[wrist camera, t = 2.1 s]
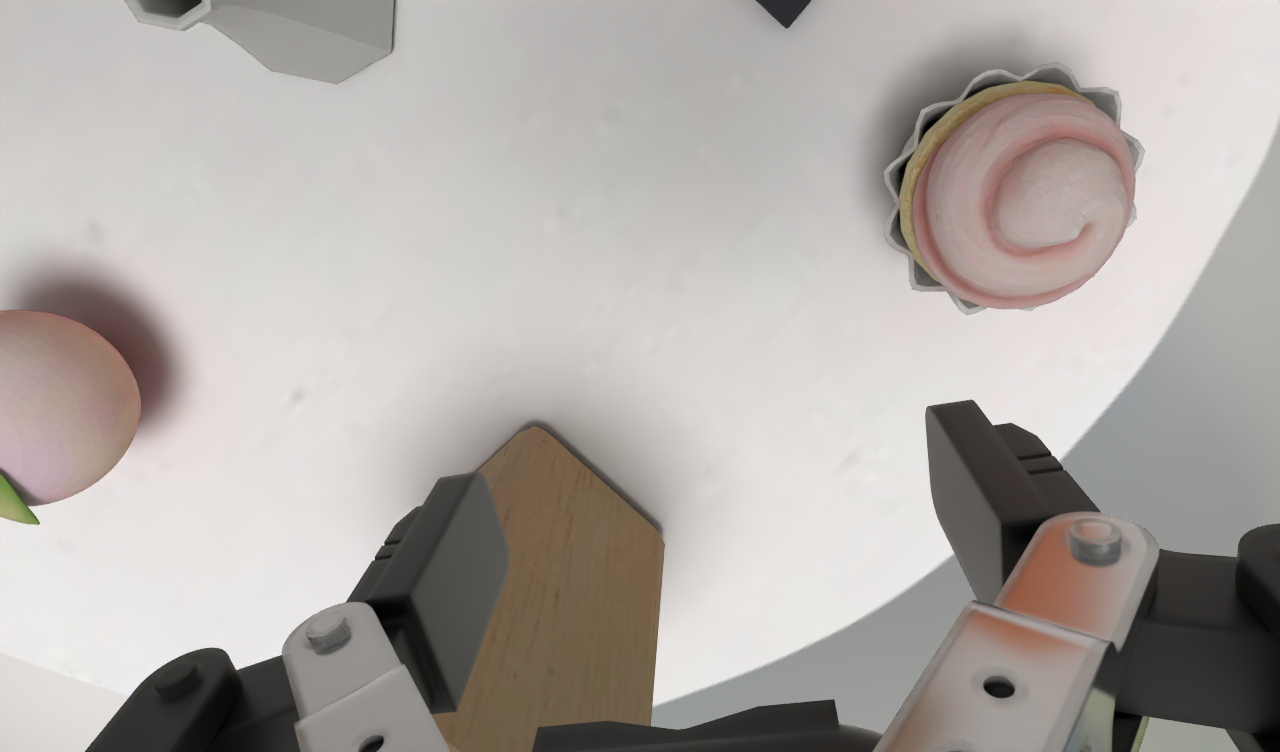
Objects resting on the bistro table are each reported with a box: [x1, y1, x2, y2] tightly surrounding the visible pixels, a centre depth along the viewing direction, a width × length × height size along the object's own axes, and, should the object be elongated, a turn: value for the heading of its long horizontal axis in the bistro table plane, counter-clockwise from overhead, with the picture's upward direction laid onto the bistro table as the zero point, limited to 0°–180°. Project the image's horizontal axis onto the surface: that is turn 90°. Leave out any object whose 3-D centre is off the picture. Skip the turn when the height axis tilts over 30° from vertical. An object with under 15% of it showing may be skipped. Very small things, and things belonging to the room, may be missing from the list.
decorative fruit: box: [0, 310, 141, 525], centre depth 35 cm, size 9×8×10 cm
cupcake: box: [883, 62, 1145, 315], centre depth 28 cm, size 9×9×10 cm
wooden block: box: [431, 426, 665, 752], centre depth 33 cm, size 10×10×20 cm
